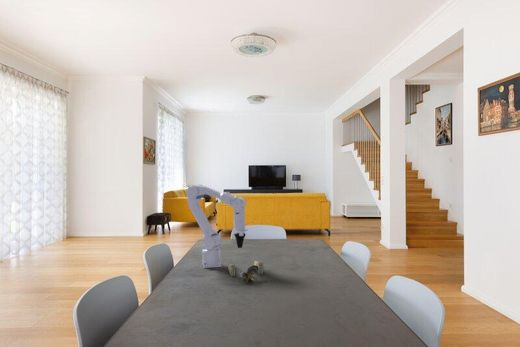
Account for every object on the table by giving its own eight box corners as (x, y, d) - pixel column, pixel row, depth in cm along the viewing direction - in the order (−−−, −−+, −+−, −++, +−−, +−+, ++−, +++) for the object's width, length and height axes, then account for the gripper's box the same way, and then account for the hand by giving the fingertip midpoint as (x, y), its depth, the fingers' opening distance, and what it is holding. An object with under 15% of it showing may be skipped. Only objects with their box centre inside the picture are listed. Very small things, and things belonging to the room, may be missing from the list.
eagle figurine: (258, 282, 135) (262, 272, 144) (249, 268, 135) (253, 259, 144) (244, 289, 138) (249, 279, 146) (235, 276, 137) (240, 267, 146)
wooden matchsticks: (230, 276, 146) (230, 266, 146) (227, 268, 159) (227, 258, 159) (263, 274, 149) (263, 263, 149) (257, 266, 163) (257, 256, 163)
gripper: (249, 222, 154) (249, 250, 154) (245, 218, 169) (245, 244, 168) (235, 223, 153) (235, 251, 153) (232, 219, 167) (232, 244, 167)
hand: (239, 247), depth 161 cm, fingers closed
